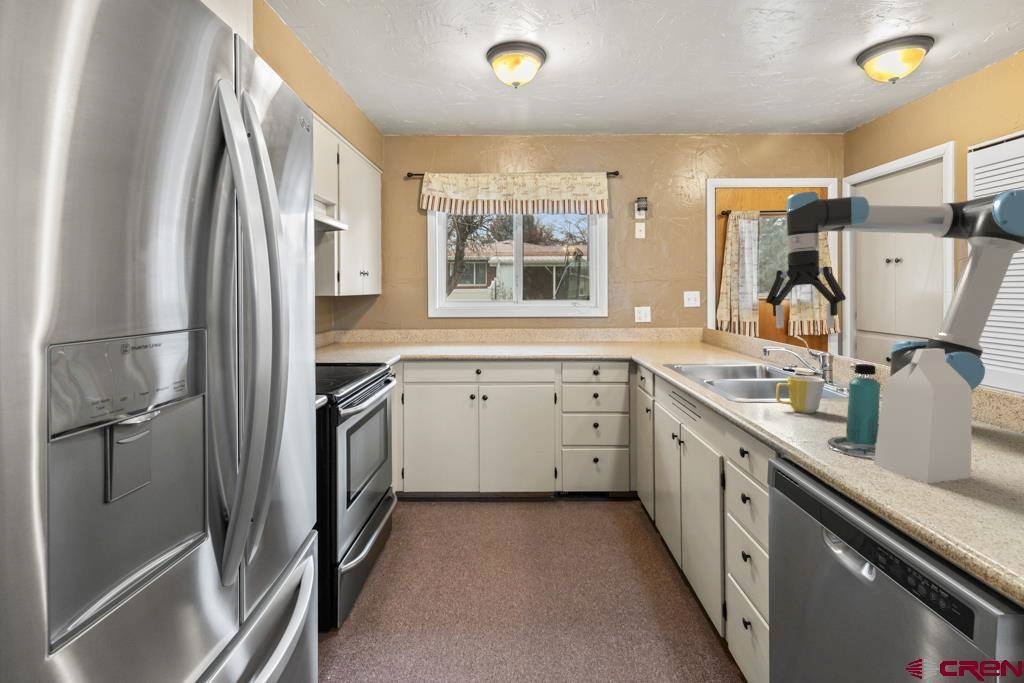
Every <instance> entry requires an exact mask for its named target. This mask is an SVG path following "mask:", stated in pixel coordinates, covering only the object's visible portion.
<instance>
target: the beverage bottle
mask: <svg viewBox="0 0 1024 683" xmlns="http://www.w3.org/2000/svg"><path fill="white" fill-rule="evenodd" d="M854 369H855V370H854V374H858V375H869V376H871V375H874V376H875V375H876V366H875V365H872V364H867V363H866V364H863V363H862V364H861V363H860V364H859V363H858V364H856V365H855V368H854ZM880 390H881V383H880V382H879V381H878V380H877V379H874V378H870V377H869V378H868V377H854V378H853V379H851V380H850V381H848V401H847V405H846V406H847V416H846V418H847V420H846V432H845V433H846V437H847V440H848V441H850V442H853V443H858V444H865V445H873V444H876V442H877V435H878V427H879V419H880V408H881V406H880V397H881V396H880V394H881V393H880V392H881V391H880Z"/></svg>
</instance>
